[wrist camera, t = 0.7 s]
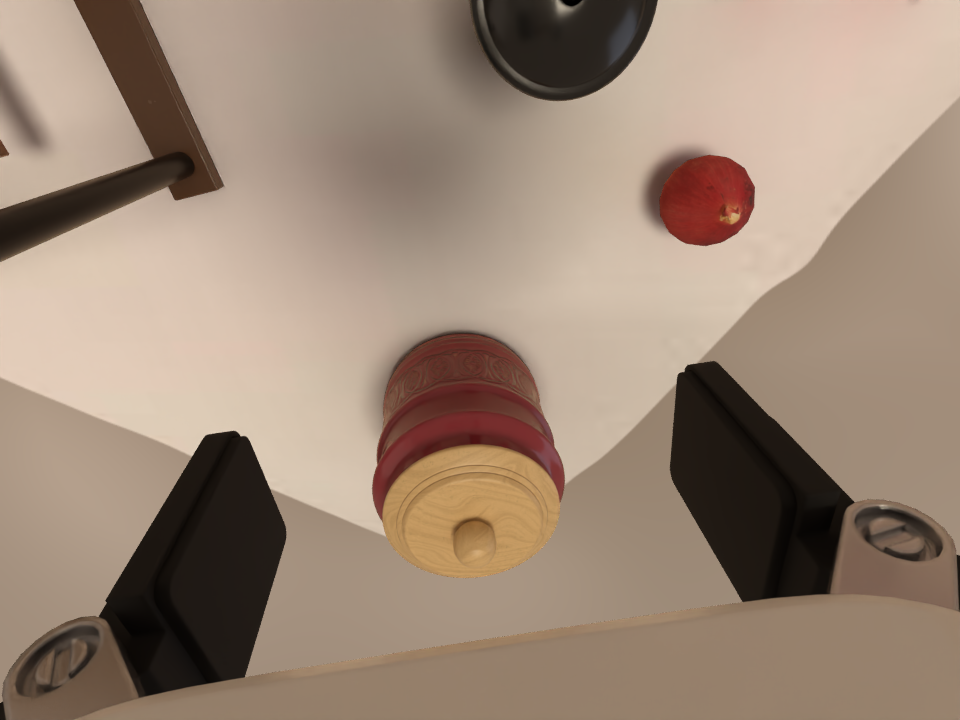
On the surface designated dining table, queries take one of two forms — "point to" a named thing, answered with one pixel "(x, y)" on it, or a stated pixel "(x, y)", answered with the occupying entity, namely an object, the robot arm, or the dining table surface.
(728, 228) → the red oval fruit
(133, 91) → the rack
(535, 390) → the kitchen canister
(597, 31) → the drinking cup
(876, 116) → the dining table surface
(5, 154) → the hanger
